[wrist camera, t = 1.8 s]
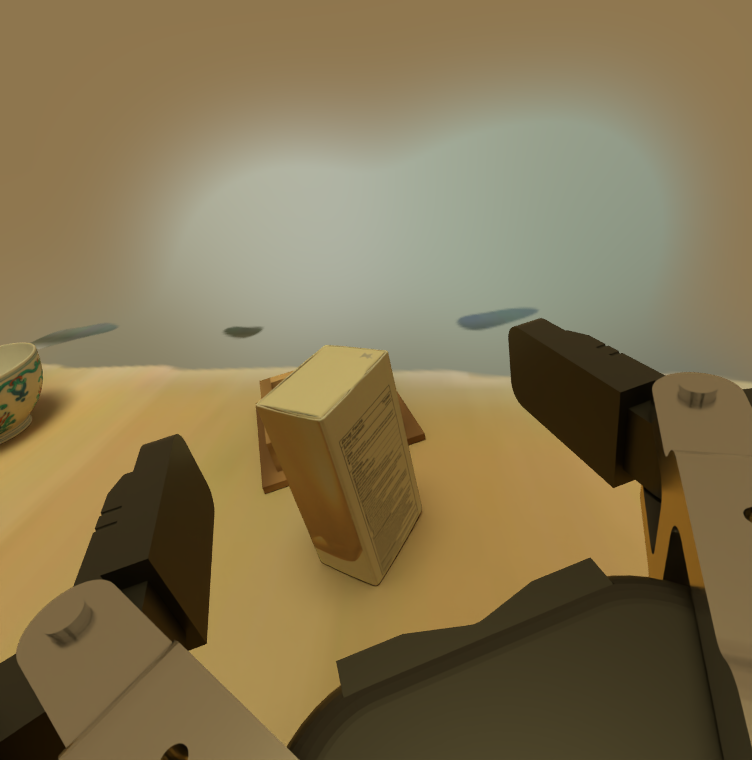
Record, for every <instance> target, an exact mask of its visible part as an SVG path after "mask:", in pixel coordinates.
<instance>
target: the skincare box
mask: <svg viewBox="0 0 752 760" xmlns="http://www.w3.org/2000/svg"><path fill="white" fill-rule="evenodd" d="M256 408H257V410H258V412H259V415H260V417H261V420H262V422H263V424H264V427H265V429H266V432H267V434H268V436H269V439H270V441H271V443H272V446H273V448H274V451H275V453H276V455H277V458H278V460H279V463H280V465H281V467H282V470H283V472H284V474H285V477H286V479H287V482H288V484H289V487H290V489H291V491H292V494H293V496H294V499H295V501H296V503H297V506H298V508H299V510H300V513H301V515H302V518H303V520H304V522H305V525H306V527H307V529H308V532H309V534H310V537H311V539H312V542H313V544H314V546H315V549H316V551H317V553H318V556H319V558H320V561H321V562H322V563H324V564H326V565H329V566H331V567H333V568H335V569H337V570H339V571H341V572H343V573H346V574H348V575H350V576H352V577H355V578H357V579H360V580H362V581H364V582H367V583H369V584H372V585H378V584H379V583H380V582H381V580H382V578H383V577H384V575H385V574H386V572H387V571H388V569H389V567H390V566H391V564H392V562H393V561H394V559H395V557H396V555H397V554H398V552H399V550H400V549H401V547H402V545H403V543H404V542H405V540H406V538H407V537H408V535H409V533H410V531H411V529H412V527H413V526H414V524H415V522H416V520H417V518H418V516H419V514H420V513H421V511H422V505H421V501H420V497H419V492H418V487H417V483H416V478H415V474H414V469H413V465H412V460H411V455H410V451H409V446H408V442H407V437H406V433H405V428H404V424H403V419H402V414H401V410H400V405H399V400H398V396H397V391H396V387H395V382H394V378H393V373H392V369H391V364H390V359H389V355H388V352H387V351H385V350H374V349H365V348H356V347H345V346H331V345H325V346H323V347H322V348H321V349H320V350H318V351H317V352H316V353H315V354H314V355H312V356H311V357H310V358H309V359H308V360H306V361H305V362H304V363H303V364H301V365H300V366H299V367H298V368H297V369H296V370H294V371H293V372H292V373H291V374H290V375H289V376H287V377H286V378H285V379H284V380H283V381H282V382H280V383H279V384H278V385H277V386H276V387H275V388H274V389H273V390H271V391H270V392H269V393H268V394H267V395H266V396H265V397H264V398H262V399H261V400H260V401H259V402H258V403H257V404H256Z"/></svg>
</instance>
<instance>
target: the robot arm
mask: <svg viewBox="0 0 752 760" xmlns="http://www.w3.org/2000/svg"><path fill="white" fill-rule="evenodd" d="M508 337H509V338H508V340H509V355H510V370H511V383H512V388H513V392H514V394H515V396H516V398H517V400H518V402H519V403H520V404H521V406H522V407H524V408H525V409H526V410H527V411H528V412H529V413H530V414H531V415H532V416H534V417H535V418H536V419H537V420H538V421H539V422H540V423H541V424H542V425H544V426H545V427H546V428H547V429H548V430H549V431H550V432H551V433H553V434H554V435H555V436H556V437H557V438H558V439H559V440H560V441H561V442H563V443H564V444H565V445H566V446H567V447H568V448H569V449H570V450H571V451H573V452H574V453H575V454H576V455H577V456H578V457H579V458H580V459H582V460H583V461H584V462H585V463H586V464H587V465H588V466H589V467H590V468H592V469H593V470H594V471H595V472H596V473H597V474H598V475H599V476H601V477H602V478H603V479H604V480H605V481H606V482H607V483H608V484H609V485H611V486H612V487H613V488H615V487H617V486H620V485H623V484H625V483H628V482H630V481H633V480H636V481H638V482H639V483H640V484H641V491H640V502H641V510H642V519H643V527H644V535H645V544H646V552H647V561H648V571H649V577H641V576H630V575H628V576H606V575H605V574H604V573H603V572H602V570H601V569H600V568H599V567H598V566H597V565H596V563H595V562H594V561H593V560H592V559H591V558H588V559H586V560H583V561H581V562H578V563H576V564H573V565H571V566H568V567H566V568H563V569H561V570H559V571H556V572H554V573H551V574H549V575H546V576H544V577H541V578H539V579H537V580H534V581H532V582H530V583H529V584H528V585H527V586H525V587H524V588H523V589H521V590H520V591H519V592H518V593H516V594H515V595H514V596H513V597H511V598H510V599H509V600H507V601H506V602H505V603H504V604H502V605H501V606H500V607H499V608H497V609H496V610H495V611H493V612H492V613H491V614H490V615H488V616H487V617H486V618H484V619H483V620H482V621H480V622H478V623H476V624H473V625H468V626H460V627H453V628H445V629H437V630H430V631H422V632H415V633H407V634H402V635H399V636H397V637H394V638H392V639H390V640H387V641H385V642H382V643H380V644H377V645H375V646H372V647H370V648H367V649H365V650H363V651H360V652H358V653H355V654H353V655H350V656H348V657H345V658H343V659H341V660H338V661H336V663H337V668H338V673H339V678H340V683H341V685H340V686H339V687H338V688H337V689H335V690H334V691H333V692H332V693H330V694H329V695H328V696H327V697H326V698H325V699H324V700H323V701H322V702H321V703H320V704H319V705H318V706H317V707H316V708H315V709H314V710H313V711H312V712H311V714H310V715H309V716H308V717H307V718H306V720H305V721H304V722H303V723H302V724H301V726H300V727H299V729H298V730H297V732H296V733H295V735H294V736H293V738H292V739H291V740H290V742H289V744H288V745H287V747H286V746H285V745H284V744H283V743H281V742H280V741H279V740H278V739H277V738H276V737H275V736H274V735H273V734H272V733H271V732H270V731H269V730H268V729H267V728H266V727H265V726H264V725H263V724H262V723H261V722H260V721H259V720H258V719H257V718H256V717H255V716H254V715H253V714H252V713H251V712H250V711H249V710H248V709H247V708H246V707H245V706H244V705H243V704H242V703H241V702H240V701H239V700H238V699H237V698H236V697H235V696H233V695H232V694H231V693H230V692H229V691H228V690H227V689H226V688H225V687H224V686H223V685H222V684H221V683H220V682H219V681H218V680H217V679H216V678H215V677H214V676H213V675H212V674H211V673H210V672H209V671H208V670H207V669H206V668H205V667H204V666H203V665H202V664H201V663H200V662H199V661H198V660H197V659H196V658H195V657H194V656H193V655H192V654H191V653H190V652H189V650H192V649H194V648H197V647H200V646H202V645H205V644H207V630H208V613H209V596H210V579H211V562H212V545H213V528H214V503H213V498H212V495H211V491H210V489H209V486H208V484H207V482H206V480H205V479H204V477H203V475H202V473H201V471H200V469H199V467H198V465H197V463H196V461H195V459H194V458H193V456H192V454H191V452H190V450H189V448H188V446H187V444H186V442H185V441H184V439H183V438H182V437H181V436H180V435H179V434H175V435H172V436H169V437H166V438H163V439H160V440H157V441H154V442H151V443H147V444H144V445H142V447H141V449H140V452H139V455H138V458H137V461H136V464H135V467H134V470H133V472H131V473H127V474H124V475H123V476H122V477H121V479H120V480H119V481H118V482H117V483H116V485H115V486H114V487H113V488H112V489H111V491H110V492H109V493H108V495H107V497H106V500H105V503H104V505H103V508H102V511H101V515H102V516H100V517H99V519H98V522H97V524H96V527H95V530H96V532H94V533H93V535H92V538H91V540H90V543H89V546H88V548H87V551H86V554H85V556H84V559H83V562H82V565H81V567H80V570H79V573H78V575H77V578H76V581H75V583H74V586H73V587H72V588H70V589H68V590H67V591H65V592H64V593H62V594H60V595H59V596H58V597H56V598H55V599H53V600H52V601H51V602H50V603H49V604H47V605H46V606H45V607H44V608H43V609H42V610H41V611H40V612H39V613H38V614H37V615H36V616H35V617H34V619H33V620H32V621H31V622H30V624H29V625H28V626H27V628H26V629H25V631H24V633H23V634H22V636H21V638H20V641H19V643H18V646H17V651H16V654H15V655H13V656H11V657H10V658H8V659H7V660H5V661H3V662H2V663H0V760H752V388H750V389H741V388H740V387H739V386H738V385H736V384H735V383H733V382H731V381H729V380H727V379H725V378H722V377H719V376H715V375H711V374H706V373H696V372H682V373H675V374H670V375H667V376H665V375H663V374H661V373H659V372H657V371H656V370H654V369H652V368H650V367H648V366H646V365H644V364H642V363H640V362H638V361H636V360H635V359H633V358H631V357H629V356H627V355H625V354H623V353H621V354H620V353H619V351H617V350H616V349H614V348H612V347H610V346H605V344H604V343H602V342H600V341H599V340H597V339H595V338H593V337H591V336H589V335H585V334H581V333H576V332H572V331H565V330H563V329H561V328H560V327H558V326H556V325H554V324H552V323H550V322H549V321H547V320H545V319H542V318H540V319H536V320H534V321H530V322H527V323H524V324H521V325H518V326H514V327H512V328H511V329H510V331H509V336H508Z"/></svg>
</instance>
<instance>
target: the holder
mask: <svg viewBox="0 0 752 760" xmlns="http://www.w3.org/2000/svg"><path fill="white" fill-rule="evenodd" d="M292 372H293V371H291V372H288V373H285V374H281V375H278V376H275V377H272V378H268V379H265V380H262V381H260V389H261V399H262V398H264V397H265V396H266V395H267V394H268V393H269V392H270V391H271V390H273V389H274V388H275V387H276V386H277V385H278V384H279V383H280V382H282V381H283V380H284V379H285V378H286V377H287V376H289V375H290V374H291V373H292ZM397 396H398V400H399V405H400V410H401V414H402V419H403V424H404V428H405V433H406V437H407V442H408V445H410V444H413V443H416V442H419V441H422V440H425V434H424V432H423V430H422V429H421V427H420V426H419V424H418V423H417V421H416V420H415V418H414V417H413V415H412V414H411V412H410V411H409V409H408V408H407V406H406V404H405V403H404V401H403V400H402V398H401V397H400V395H399V394H398V392H397ZM256 404H257V403H256ZM256 413H257V425H258V437H259V450H260V462H261V475H262V487H263V490H264V492H265V494H266V493H268V492H271V491H274V490H277V489H280V488H283V487H286V486H289V484H288V482H287V479H286V477H285V474H284V472H283V470H282V467H281V465H280V463H279V460H278V458H277V455H276V453H275V451H274V448H273V446H272V443H271V441H270V439H269V436H268V434H267V432H266V429H265V427H264V424H263V422H262V420H261V417H260V415H259V412H258V410H257V408H256Z"/></svg>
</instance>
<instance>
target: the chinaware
mask: <svg viewBox="0 0 752 760" xmlns="http://www.w3.org/2000/svg"><path fill="white" fill-rule="evenodd" d="M42 384H43V371H42V365H41V361H40V358H39V354H38V352H37V349H36V347H35V346H34V345H33V344H31V343H12V344H7V345H1V346H0V444H2V443H4V442H6V441H8V440H10V439H11V438H13V437H15V436H16V435H18V434H19V433H21V432H22V431H23V430H25V429H26V428H27V427H28V426H29V425H30V423H31V422H32V416H31V415H30V412H31V411H32V409H33V408H34V406H35V405H36V403H37V401H38V399H39V396H40V393H41V389H42Z"/></svg>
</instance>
